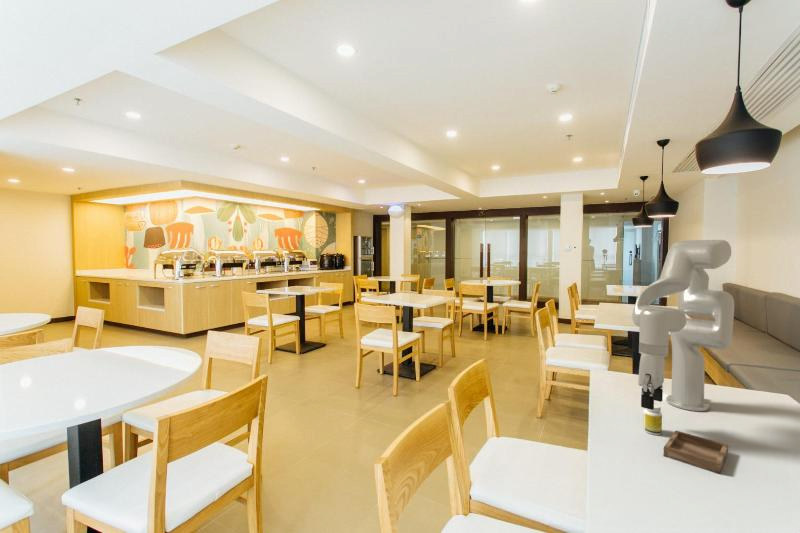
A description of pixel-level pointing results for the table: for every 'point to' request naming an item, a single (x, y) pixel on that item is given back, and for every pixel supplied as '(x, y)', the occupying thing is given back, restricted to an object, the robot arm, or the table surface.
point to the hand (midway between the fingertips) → (651, 404)
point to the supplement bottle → (653, 420)
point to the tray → (696, 451)
